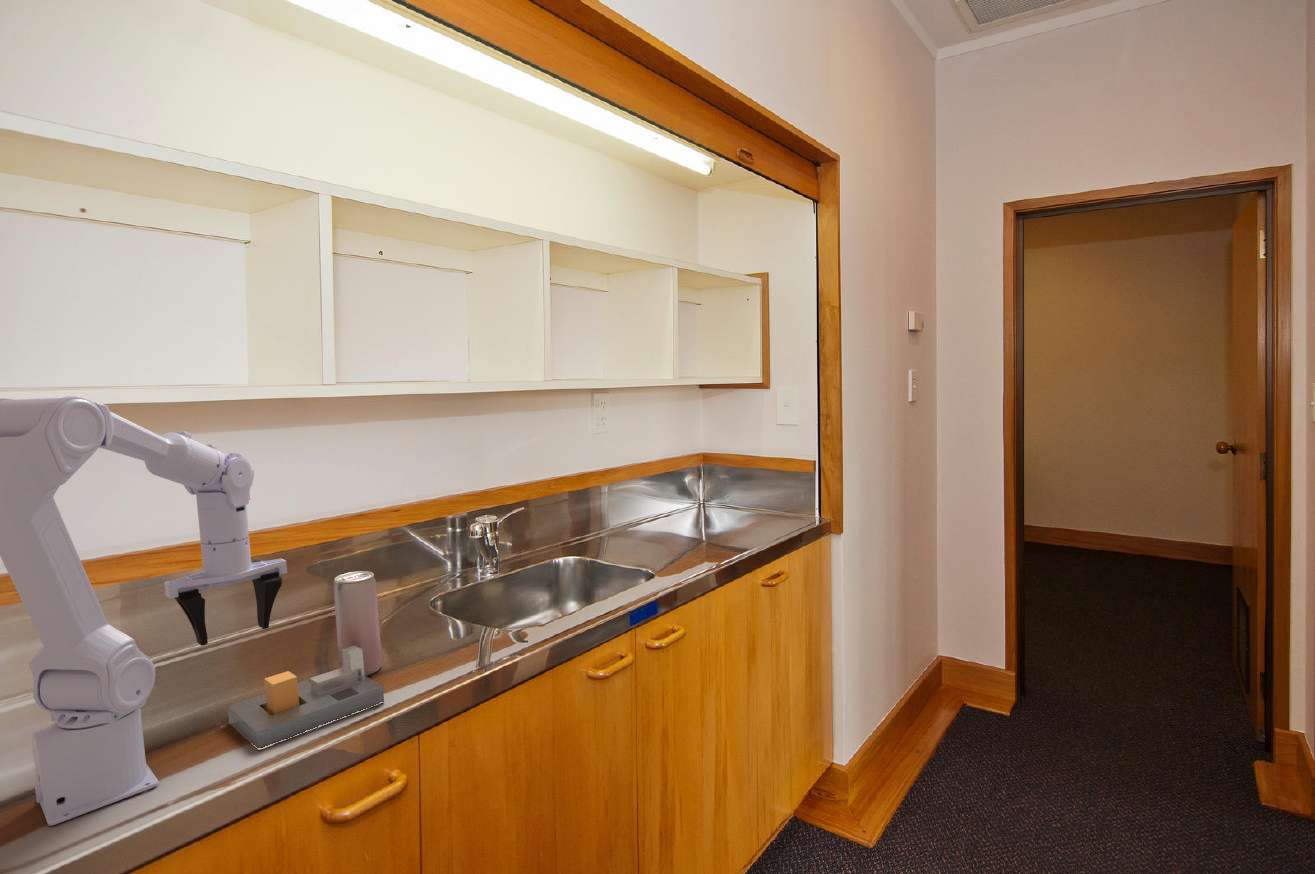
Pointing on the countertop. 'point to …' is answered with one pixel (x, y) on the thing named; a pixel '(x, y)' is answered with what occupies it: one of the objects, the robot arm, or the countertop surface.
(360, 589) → the beverage can
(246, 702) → the rosette plate
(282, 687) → the orange rectangular block
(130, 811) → the countertop surface
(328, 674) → the bracket
